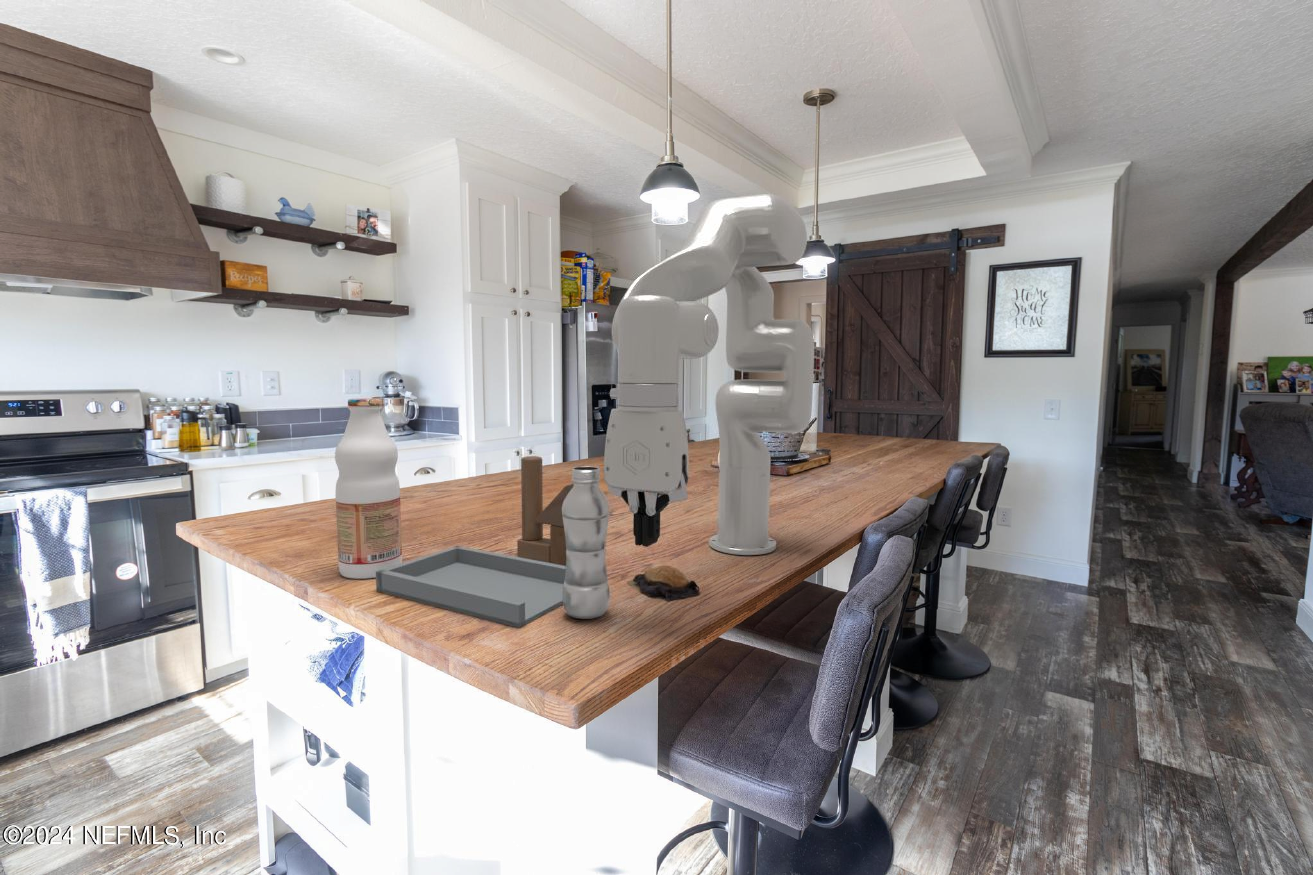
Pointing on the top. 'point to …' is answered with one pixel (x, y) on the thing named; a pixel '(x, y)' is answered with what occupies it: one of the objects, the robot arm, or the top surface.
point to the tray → (478, 584)
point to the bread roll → (665, 584)
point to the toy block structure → (540, 517)
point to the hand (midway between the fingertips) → (646, 543)
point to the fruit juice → (367, 494)
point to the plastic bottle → (585, 546)
